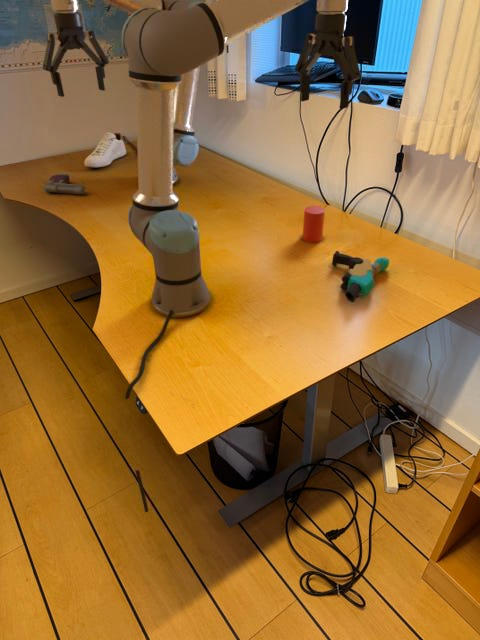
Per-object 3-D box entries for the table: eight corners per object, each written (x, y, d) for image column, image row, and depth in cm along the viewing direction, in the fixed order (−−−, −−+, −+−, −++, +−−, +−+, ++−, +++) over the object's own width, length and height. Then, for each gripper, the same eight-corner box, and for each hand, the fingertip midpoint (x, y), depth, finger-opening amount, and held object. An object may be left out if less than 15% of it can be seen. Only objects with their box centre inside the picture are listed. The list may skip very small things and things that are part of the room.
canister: (323, 235, 157) (326, 206, 151) (320, 243, 152) (323, 214, 146) (304, 232, 158) (306, 204, 153) (300, 241, 154) (302, 212, 148)
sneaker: (78, 170, 212) (72, 142, 204) (110, 151, 234) (106, 126, 226) (99, 172, 209) (94, 144, 202) (129, 153, 231) (126, 127, 224)
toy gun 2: (311, 281, 124) (367, 296, 118) (342, 242, 143) (392, 253, 137) (309, 296, 127) (365, 311, 121) (340, 255, 145) (389, 267, 139)
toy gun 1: (99, 183, 198) (82, 197, 186) (58, 181, 201) (39, 194, 189) (97, 174, 195) (80, 188, 184) (55, 172, 199) (36, 184, 187)
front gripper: (382, 13, 113) (369, 108, 126) (303, 10, 128) (298, 95, 141) (364, 15, 109) (352, 113, 122) (284, 11, 124) (281, 99, 137)
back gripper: (28, 14, 127) (48, 100, 139) (112, 10, 140) (123, 89, 152) (18, 13, 131) (38, 96, 144) (100, 9, 144) (112, 85, 157)
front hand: (323, 104), depth 131 cm, fingers open, 13 cm apart
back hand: (82, 93), depth 148 cm, fingers open, 13 cm apart
